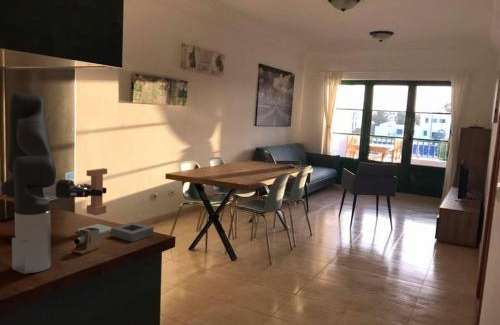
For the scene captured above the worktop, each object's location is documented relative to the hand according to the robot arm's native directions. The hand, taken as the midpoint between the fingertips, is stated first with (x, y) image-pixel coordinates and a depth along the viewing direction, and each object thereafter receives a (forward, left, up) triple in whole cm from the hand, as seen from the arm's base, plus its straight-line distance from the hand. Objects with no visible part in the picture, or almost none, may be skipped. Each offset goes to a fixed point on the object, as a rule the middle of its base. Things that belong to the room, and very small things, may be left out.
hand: (103, 191), depth 158 cm
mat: (-1, +2, -16) cm, 16 cm away
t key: (-1, +2, -8) cm, 9 cm away
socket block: (+4, -12, -16) cm, 20 cm away
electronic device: (-18, -12, -16) cm, 27 cm away
